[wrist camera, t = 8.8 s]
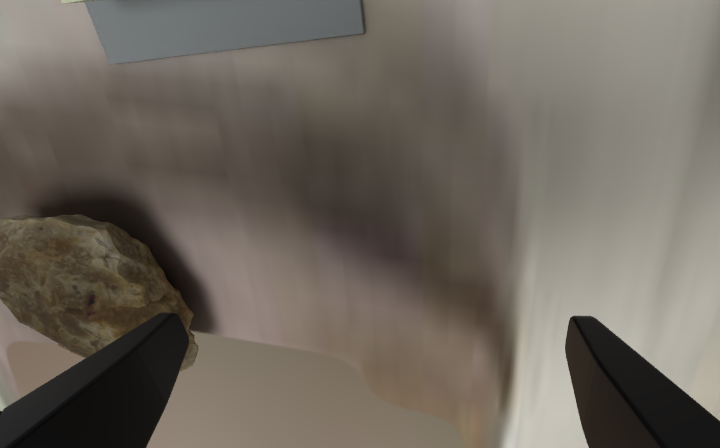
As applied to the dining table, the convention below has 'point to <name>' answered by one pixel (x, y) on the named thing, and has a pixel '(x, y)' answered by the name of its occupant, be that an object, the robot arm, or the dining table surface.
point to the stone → (83, 281)
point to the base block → (75, 0)
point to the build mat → (215, 25)
